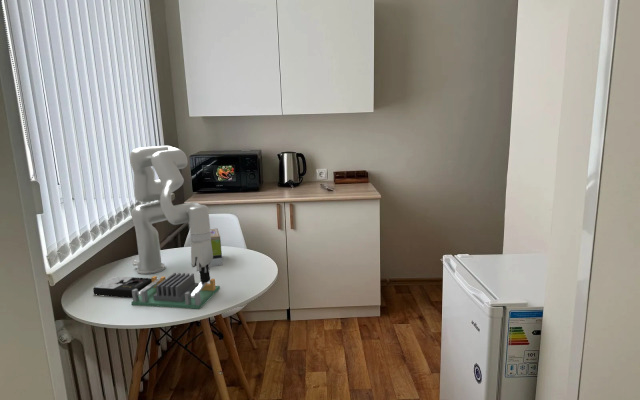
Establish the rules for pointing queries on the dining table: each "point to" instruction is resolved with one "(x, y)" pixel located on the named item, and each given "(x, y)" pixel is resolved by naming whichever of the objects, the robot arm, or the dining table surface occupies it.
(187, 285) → the cooler board
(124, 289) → the multimeter
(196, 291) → the strap right
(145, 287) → the strap left
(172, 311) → the dining table surface
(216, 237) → the tea box
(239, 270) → the dining table surface
